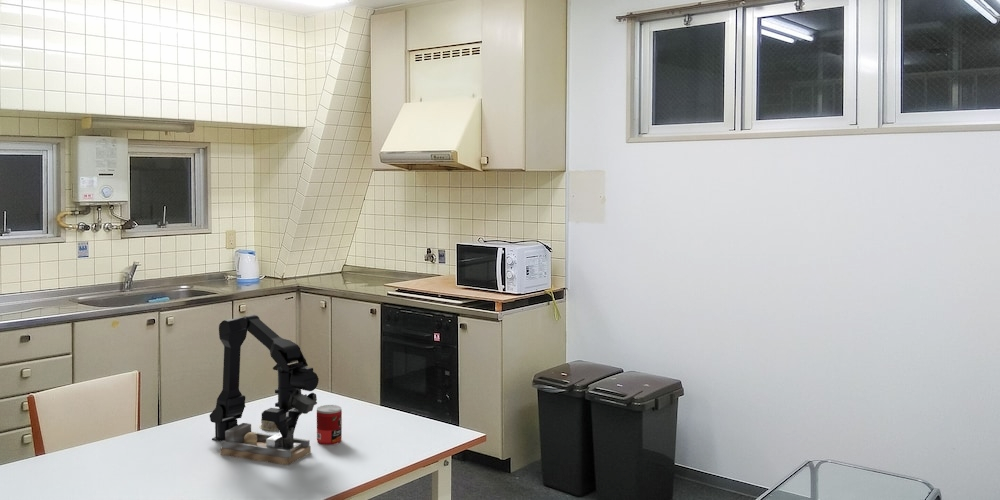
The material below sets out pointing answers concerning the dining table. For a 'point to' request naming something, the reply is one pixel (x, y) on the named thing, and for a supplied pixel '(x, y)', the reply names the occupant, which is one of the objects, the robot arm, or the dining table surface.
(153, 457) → the dining table surface
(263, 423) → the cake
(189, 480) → the dining table surface
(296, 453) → the press base
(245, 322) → the robot arm
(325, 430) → the canned food
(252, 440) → the tan rounded piece
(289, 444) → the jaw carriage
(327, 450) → the dining table surface
